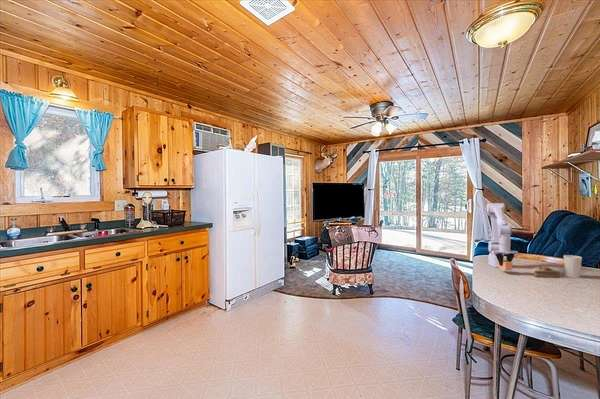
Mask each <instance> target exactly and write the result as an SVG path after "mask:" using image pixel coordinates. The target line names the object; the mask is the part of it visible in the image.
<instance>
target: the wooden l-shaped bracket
mask: <svg viewBox="0 0 600 399" xmlns="http://www.w3.org/2000/svg"><path fill="white" fill-rule="evenodd" d="M560 274H561V273H560V271H558V270H555V269H553V268H550V267H547V266H544V265H538V270H534V277H535V278H558V279H559V278H560V277H561V275H560Z"/></svg>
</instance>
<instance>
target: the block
mask: <svg viewBox="0 0 600 399" xmlns="http://www.w3.org/2000/svg"><path fill="white" fill-rule="evenodd" d="M498 267H499V269H502V270H504V271H513V261H511V262H510V261H507V259H505V258H504V259H503V265H502V266H501V265H499V262H498Z"/></svg>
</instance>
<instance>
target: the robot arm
mask: <svg viewBox="0 0 600 399" xmlns="http://www.w3.org/2000/svg"><path fill="white" fill-rule="evenodd" d="M505 211H506V205H505V203H503V202H501V203H496V202H494V203H492V202H491V203H489V202H488V203H487V204H486V214H487V216H489V218H490V221H491V222H490V223H491V235H492V239H491V240H490V241H488V246H487V249H488V252H489V254H488V257H487V258H488V263H487V265H489V266H490V267H493V268H495V269H496V268H499V267H498V262H499V265H501V266H502V265H503V259H504V260H505V258H506V260H507V261H510V262H513V260H514V258H515V256H516V255H518V254H519V251H518V250H511V235H512V234H513V229H512V228H513V227H512V226H511V224H509V223H508V222H509V221H508V219H507V218H506V217H504V213H505ZM499 269H500V268H499Z"/></svg>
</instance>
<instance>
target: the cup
mask: <svg viewBox="0 0 600 399" xmlns="http://www.w3.org/2000/svg"><path fill="white" fill-rule="evenodd" d="M582 260H583V257H582V256H578V255H572V254H564V255H563V262H564V264H563V265H564V273H565V274H564V276H566V277H569V278H575V279H580V277H581V268H582Z"/></svg>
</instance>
